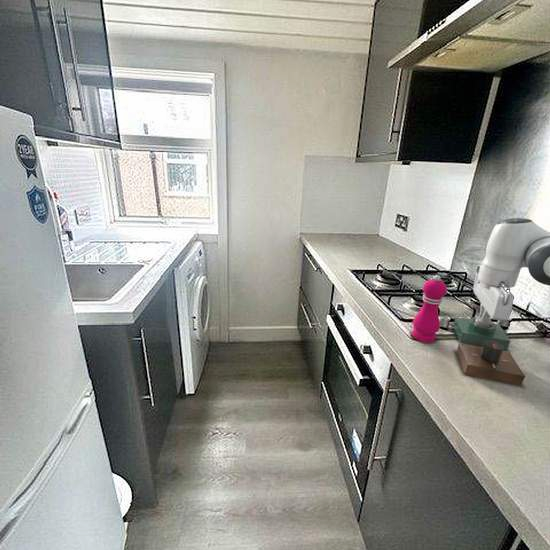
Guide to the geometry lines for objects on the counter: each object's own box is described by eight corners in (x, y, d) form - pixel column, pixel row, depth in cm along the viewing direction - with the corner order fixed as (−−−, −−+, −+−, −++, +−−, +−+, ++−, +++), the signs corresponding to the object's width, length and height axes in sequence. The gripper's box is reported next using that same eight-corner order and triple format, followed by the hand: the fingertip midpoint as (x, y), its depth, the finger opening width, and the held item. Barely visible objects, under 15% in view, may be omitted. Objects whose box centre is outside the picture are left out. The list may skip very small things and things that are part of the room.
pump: (487, 323, 91) (489, 317, 91) (491, 330, 88) (493, 324, 87) (472, 321, 93) (474, 315, 92) (476, 327, 89) (477, 321, 88)
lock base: (506, 361, 81) (510, 351, 80) (521, 386, 72) (525, 375, 71) (456, 351, 84) (459, 342, 83) (464, 374, 76) (467, 363, 74)
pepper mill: (410, 340, 89) (424, 277, 82) (410, 328, 96) (423, 269, 88) (437, 346, 87) (454, 282, 79) (435, 333, 93) (450, 273, 86)
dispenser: (495, 332, 94) (500, 318, 93) (507, 350, 86) (512, 335, 84) (452, 325, 98) (456, 311, 96) (459, 342, 89) (463, 327, 87)
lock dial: (478, 351, 79) (483, 337, 78) (496, 355, 78) (501, 341, 77) (482, 360, 76) (487, 346, 74) (501, 364, 75) (506, 350, 73)
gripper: (526, 292, 74) (508, 340, 79) (498, 266, 92) (485, 306, 98) (496, 288, 76) (481, 335, 81) (475, 263, 94) (463, 303, 99)
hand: (483, 319), depth 90 cm, fingers closed, pressing on pump
